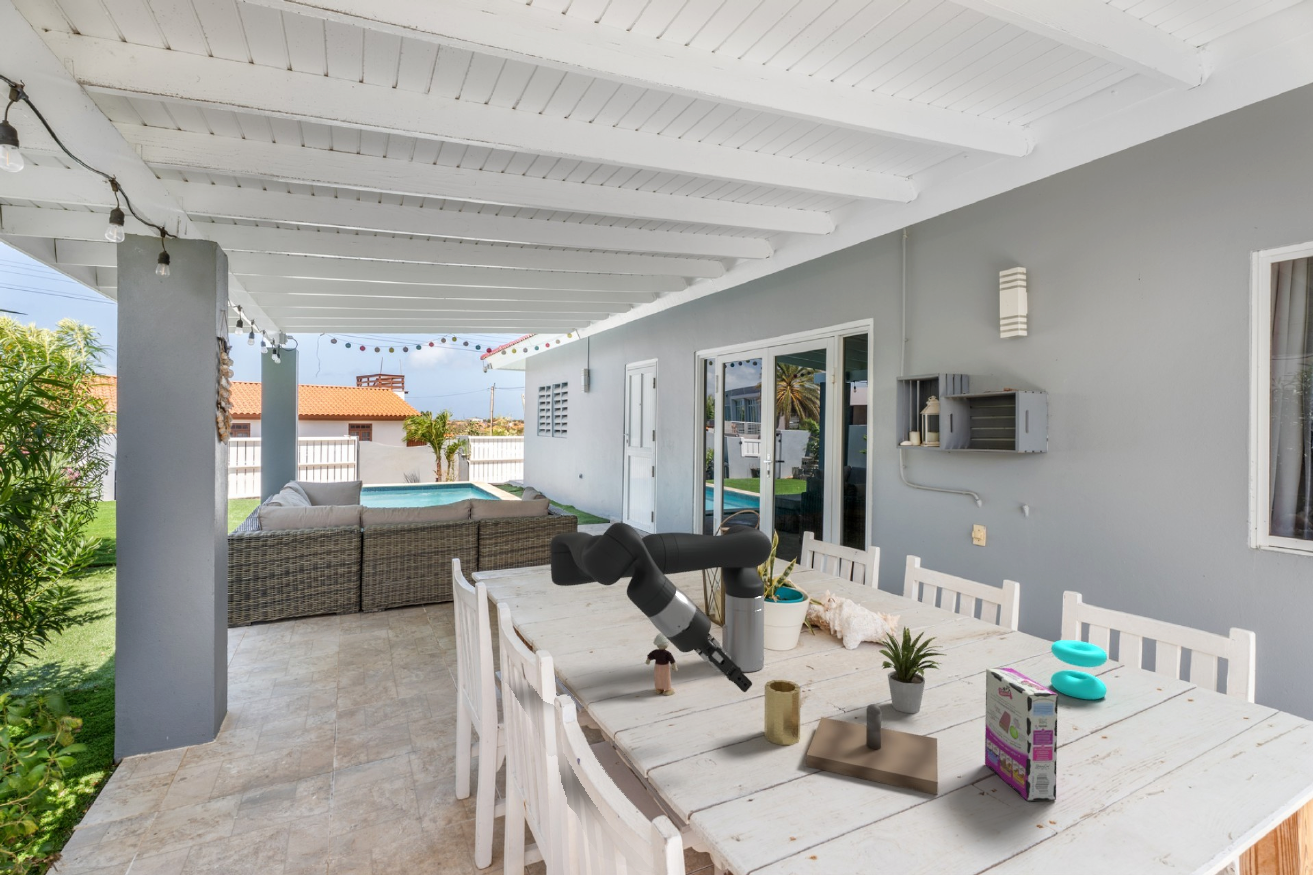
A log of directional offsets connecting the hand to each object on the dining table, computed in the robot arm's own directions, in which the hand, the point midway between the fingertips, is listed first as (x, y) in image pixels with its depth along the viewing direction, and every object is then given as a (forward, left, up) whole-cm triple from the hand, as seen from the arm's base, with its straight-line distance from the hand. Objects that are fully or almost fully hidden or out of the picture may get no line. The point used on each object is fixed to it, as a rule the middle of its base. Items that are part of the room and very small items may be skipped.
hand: (738, 677), depth 112 cm
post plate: (+22, +5, -12) cm, 26 cm away
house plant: (+27, +27, -12) cm, 40 cm away
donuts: (+61, +52, -12) cm, 81 cm away
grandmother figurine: (-21, +15, -12) cm, 29 cm away
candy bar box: (+44, +7, -12) cm, 47 cm away
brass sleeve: (+6, +6, -12) cm, 15 cm away
